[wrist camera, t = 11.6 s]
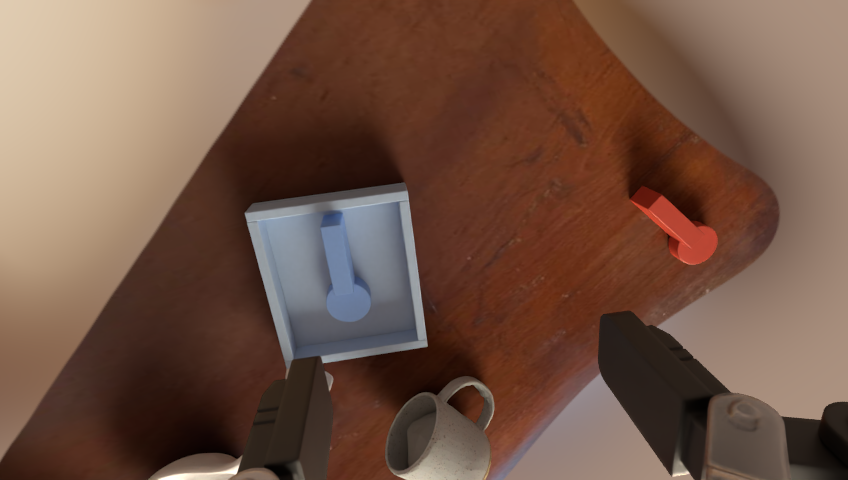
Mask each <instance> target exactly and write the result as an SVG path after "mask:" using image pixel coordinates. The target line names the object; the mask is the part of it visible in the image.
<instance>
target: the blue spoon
mask: <svg viewBox="0 0 848 480" xmlns="http://www.w3.org/2000/svg"><path fill="white" fill-rule="evenodd" d="M320 230H321V235H322V240H323V244H324V249H325V254H326V259H327V263H328V268H329V273H330V277H331V282H332V284H331V285H330V287H329V289H328V293H327V298H326V306H327V309H328V311H329V313H330V314H331V315H332V316H333V317H334V318H336V319H338V320H340V321H344V322H353V321H357V320H359V319H361V318H363V317H364V316H365V315H366V314H367V312H368V311H369V309H370V305H371V291H370V288H369V286H368V285H367V283H366V282H365V281H364V280H362V279H361V278H359V277H356V276H355V274H354V269H353V264H352V258H351V253H350V248H349V243H348V237H347V232H346V227H345V222H344V216H343V213H338V214H331V215H324V217H323V220H322V223H321V226H320Z"/></svg>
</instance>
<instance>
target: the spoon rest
mask: <svg viewBox="0 0 848 480" xmlns="http://www.w3.org/2000/svg"><path fill="white" fill-rule="evenodd" d="M289 369H290V368H289ZM289 369H287V371H286V377H285V379H287V376H288V372H289ZM325 375H326V379H327V383H328V387H329V391H330V389H331V386H332V382H333V377H332V375H330V374H329V373H328V372H326V371H325ZM242 456H243V455H242ZM242 456H241V457H240V458H238V459H236V458H234V457H232V456H230V455H227V454H222V453H201V454H195V455H191V456H187V457H184V458H181V459H179V460H176V461H174V462H172V463H170V464H168V465H167V466H165V467H163V468H162V469H160V470H159V471H157V472H156V473H155V474H154V475H152V476H151V477H150V478H149V479H148V480H228V479H229V478H231V477H232V476H234V475H236V474H237V471H238V468H239V465H240V462H241V459H242Z"/></svg>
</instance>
